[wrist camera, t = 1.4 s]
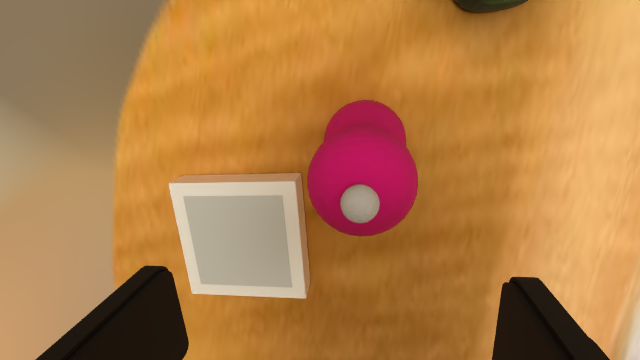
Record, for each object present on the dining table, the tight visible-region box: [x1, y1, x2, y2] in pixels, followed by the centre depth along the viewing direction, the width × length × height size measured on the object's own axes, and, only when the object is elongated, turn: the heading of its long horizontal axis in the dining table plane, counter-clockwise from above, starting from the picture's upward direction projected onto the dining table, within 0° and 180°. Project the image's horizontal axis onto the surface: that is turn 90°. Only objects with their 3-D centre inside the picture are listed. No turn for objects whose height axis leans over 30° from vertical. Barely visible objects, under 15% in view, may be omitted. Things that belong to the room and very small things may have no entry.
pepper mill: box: [308, 100, 418, 236], centre depth 23 cm, size 7×7×20 cm
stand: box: [168, 173, 310, 298], centre depth 36 cm, size 14×14×3 cm
